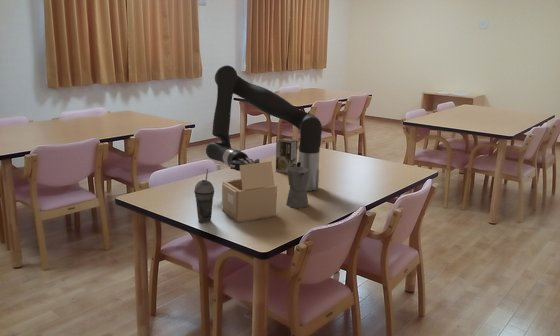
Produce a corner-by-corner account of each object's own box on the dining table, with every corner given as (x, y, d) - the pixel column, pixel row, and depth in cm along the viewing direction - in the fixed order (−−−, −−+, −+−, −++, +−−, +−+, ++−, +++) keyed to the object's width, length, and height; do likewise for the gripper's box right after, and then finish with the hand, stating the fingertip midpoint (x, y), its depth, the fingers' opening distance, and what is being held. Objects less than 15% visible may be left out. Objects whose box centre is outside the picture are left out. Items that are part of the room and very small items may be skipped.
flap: (242, 189, 183) (239, 165, 183) (273, 185, 190) (270, 161, 190) (243, 189, 183) (240, 165, 183) (274, 185, 189) (271, 161, 189)
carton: (219, 210, 197) (219, 181, 194) (259, 204, 206) (260, 176, 203) (236, 223, 185) (236, 192, 182) (278, 215, 194) (278, 185, 191)
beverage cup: (195, 217, 190) (194, 166, 184) (214, 217, 190) (214, 166, 185) (193, 224, 182) (193, 171, 177) (214, 224, 183) (214, 171, 178)
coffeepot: (312, 209, 202) (315, 166, 198) (290, 210, 200) (291, 166, 195) (302, 197, 217) (304, 156, 212) (281, 198, 215) (282, 157, 210)
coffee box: (296, 171, 257) (298, 140, 253) (290, 174, 252) (291, 142, 247) (281, 168, 262) (282, 138, 257) (275, 171, 256) (275, 140, 252)
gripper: (220, 151, 197) (239, 161, 182) (250, 148, 203) (271, 157, 189) (220, 170, 198) (239, 181, 184) (250, 166, 205) (271, 176, 191)
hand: (255, 169), depth 186 cm, fingers closed
